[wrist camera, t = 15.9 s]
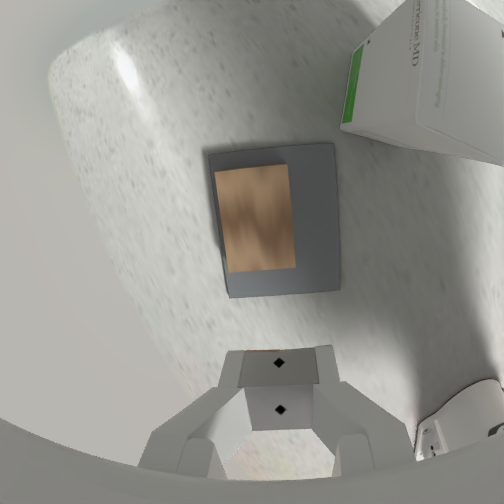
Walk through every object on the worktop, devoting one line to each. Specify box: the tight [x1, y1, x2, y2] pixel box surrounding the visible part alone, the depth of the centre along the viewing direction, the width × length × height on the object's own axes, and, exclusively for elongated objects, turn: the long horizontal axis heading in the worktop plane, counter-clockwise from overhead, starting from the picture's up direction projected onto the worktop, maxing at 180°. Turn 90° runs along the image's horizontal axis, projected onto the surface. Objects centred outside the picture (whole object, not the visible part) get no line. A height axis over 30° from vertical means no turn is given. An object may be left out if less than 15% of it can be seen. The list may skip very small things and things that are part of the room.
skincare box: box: [340, 0, 504, 167], centre depth 16 cm, size 8×7×16 cm
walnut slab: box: [215, 163, 296, 273], centre depth 27 cm, size 9×2×6 cm
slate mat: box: [208, 143, 340, 298], centre depth 28 cm, size 14×11×1 cm
